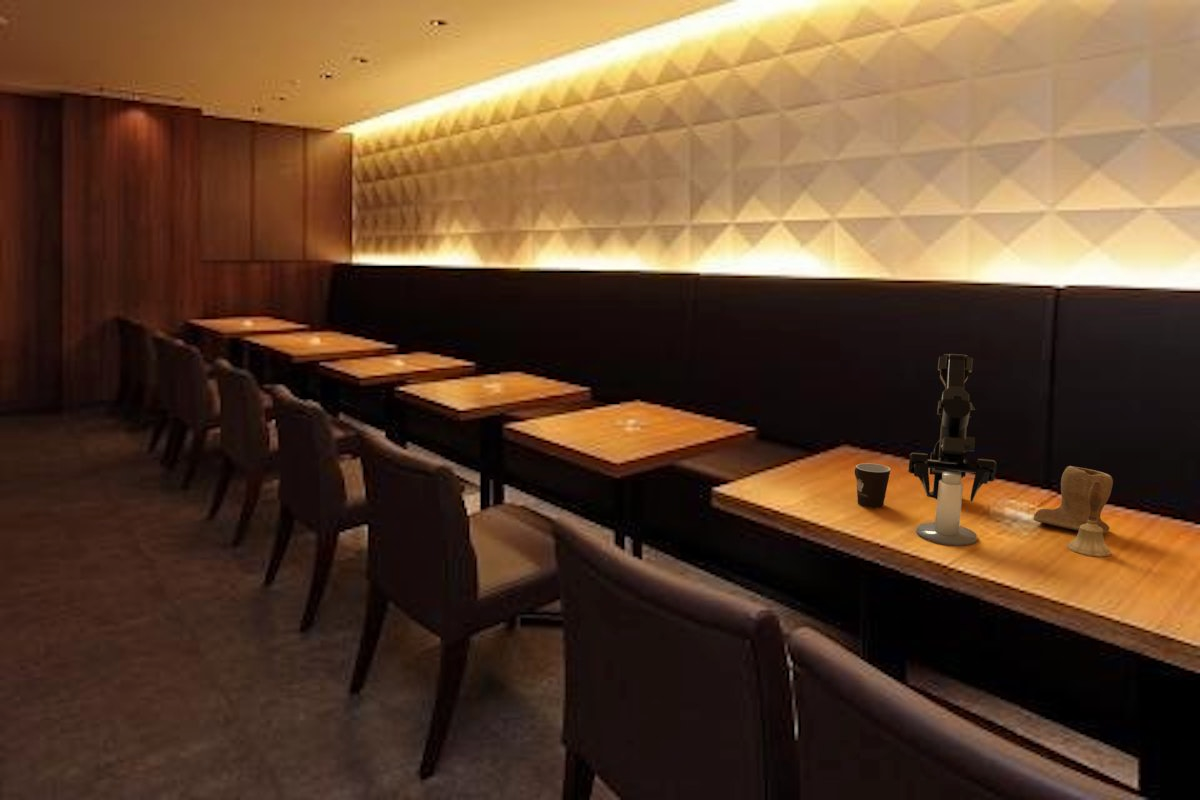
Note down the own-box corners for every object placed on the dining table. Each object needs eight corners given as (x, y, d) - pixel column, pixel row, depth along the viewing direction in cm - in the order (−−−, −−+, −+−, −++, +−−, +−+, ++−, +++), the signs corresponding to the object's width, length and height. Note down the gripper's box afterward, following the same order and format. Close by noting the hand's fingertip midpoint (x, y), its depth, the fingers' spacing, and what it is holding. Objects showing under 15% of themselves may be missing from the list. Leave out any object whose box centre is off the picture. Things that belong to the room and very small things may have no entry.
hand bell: (1059, 543, 180) (1067, 476, 177) (1093, 543, 181) (1102, 476, 178) (1083, 557, 172) (1092, 487, 169) (1119, 556, 173) (1129, 486, 170)
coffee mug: (890, 510, 203) (893, 473, 201) (855, 508, 204) (857, 471, 202) (883, 497, 214) (886, 461, 212) (850, 495, 215) (852, 459, 214)
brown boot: (1113, 528, 191) (1121, 468, 188) (1104, 541, 182) (1112, 478, 179) (1043, 514, 201) (1050, 457, 198) (1031, 526, 192) (1038, 466, 189)
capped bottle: (947, 526, 188) (953, 470, 185) (963, 534, 183) (969, 476, 180) (929, 528, 186) (934, 471, 184) (945, 536, 181) (950, 477, 179)
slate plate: (932, 522, 194) (932, 518, 193) (986, 537, 184) (986, 532, 184) (905, 534, 185) (906, 530, 185) (960, 550, 176) (961, 545, 175)
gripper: (912, 419, 187) (907, 476, 179) (1000, 426, 180) (999, 485, 172) (910, 444, 196) (906, 499, 188) (994, 452, 189) (992, 509, 181)
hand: (949, 498), depth 182 cm, fingers open, 9 cm apart
